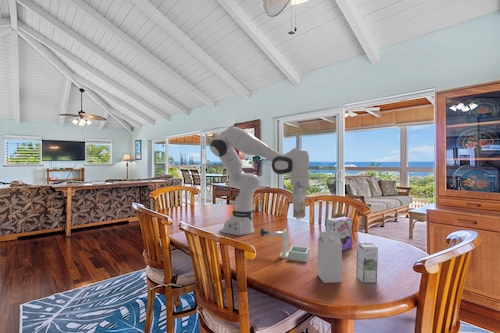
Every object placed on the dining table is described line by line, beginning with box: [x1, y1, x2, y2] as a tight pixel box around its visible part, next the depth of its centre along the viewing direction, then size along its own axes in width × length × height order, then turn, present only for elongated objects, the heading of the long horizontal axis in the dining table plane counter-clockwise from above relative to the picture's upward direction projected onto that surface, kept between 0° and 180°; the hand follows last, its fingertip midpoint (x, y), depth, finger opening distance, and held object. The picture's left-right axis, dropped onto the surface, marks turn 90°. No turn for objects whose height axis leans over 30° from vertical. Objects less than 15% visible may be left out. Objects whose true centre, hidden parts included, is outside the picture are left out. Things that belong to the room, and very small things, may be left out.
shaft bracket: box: [278, 228, 310, 263], centre depth 125 cm, size 13×9×13 cm, turn 70°
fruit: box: [331, 212, 347, 219], centre depth 158 cm, size 11×11×15 cm
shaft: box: [259, 227, 289, 237], centre depth 128 cm, size 13×4×4 cm, turn 70°
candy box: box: [325, 216, 353, 251], centre depth 137 cm, size 14×6×16 cm, turn 117°
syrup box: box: [355, 241, 379, 284], centre depth 101 cm, size 6×6×14 cm
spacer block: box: [292, 199, 306, 219], centre depth 124 cm, size 5×5×8 cm
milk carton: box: [317, 231, 343, 284], centre depth 102 cm, size 7×7×19 cm
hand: (299, 210), depth 124 cm, fingers closed on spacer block, 5 cm apart
